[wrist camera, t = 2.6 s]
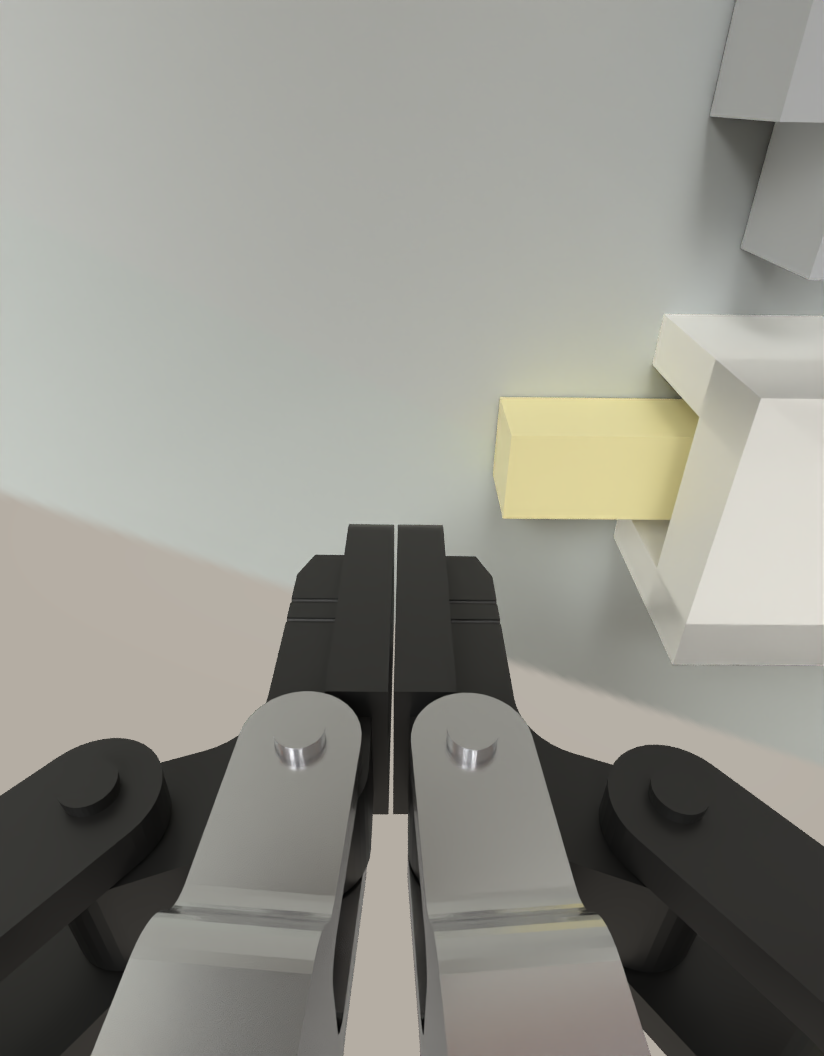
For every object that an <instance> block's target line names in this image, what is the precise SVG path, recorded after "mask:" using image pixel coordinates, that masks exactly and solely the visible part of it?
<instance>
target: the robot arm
mask: <svg viewBox="0 0 824 1056" xmlns="http://www.w3.org/2000/svg"><path fill="white" fill-rule="evenodd" d="M393 631H394V525H372V524H349V527H348V533H347V540H346V547H345V554H344V555H315V556H314V557H313V558H312V559H311V560H310V561H309V562H308V563H307V565H306V566H305V567H304V568H303V569H302V570H301V571H300V572H299V573H298V574H297V578H296V582H295V586H294V591H293V595H292V603H290V607H289V611H288V616H287V622H286V624H285V629H284V632H283V637H282V641H281V645H280V650H279V653H278V658H277V662H276V666H275V670H274V674H273V678H272V683H271V687H270V691H269V695H268V699H267V702H266V703H265V704H264V705H262V706H261V707H260V708H258V709H257V710H256V711H255V712H254V713H253V714H252V715H251V716H250V717H249V718H248V720H247V721H246V722H245V724H244V726H243V727H242V730H241V732H240V734H239V736H237V737H235V738H234V739H232V740H230V741H229V742H227V743H224V744H222V745H220V746H218V747H215V748H213V749H209V750H206V751H203V752H199V753H195V754H192V755H188V756H184V757H180V758H177V759H173V760H170V761H165V762H162V763H160V761H159V759H158V758H157V755H156V754H155V753H154V752H153V751H152V750H151V749H150V748H148V747H147V746H146V745H144V744H142V743H140V742H137V741H134V740H130V739H121V738H110V739H102V740H97V741H93V742H89V743H86V744H84V745H80V746H79V747H76V748H74V749H72V750H70V751H68V752H66V753H64V754H63V755H61V756H59V757H58V758H56V759H55V760H53V761H52V762H50V763H49V764H47V765H46V766H44V767H43V768H41V769H40V770H38V771H37V772H35V773H34V774H32V775H31V776H29V777H28V778H26V779H25V780H23V781H22V782H20V783H19V784H17V785H16V786H14V787H13V788H11V789H10V790H8V791H7V792H5V793H4V794H2V795H1V796H0V1056H343V1055H344V1044H345V1035H346V1027H347V1019H348V1011H349V1004H350V996H351V988H352V981H353V973H354V965H355V958H356V950H357V942H358V935H359V927H360V919H361V912H362V904H363V896H364V888H365V880H366V867H367V864H368V861H369V858H370V851H371V835H372V816H373V814H388V807H389V773H390V772H389V770H390V737H391V736H390V735H391V703H392V701H391V700H392V668H393ZM393 780H394V782H393V787H394V788H393V793H394V794H393V814H408V889H409V903H410V917H411V929H412V942H413V943H412V944H413V957H414V970H415V984H416V998H417V1011H418V1024H419V1039H420V1056H651V1054H650V1051H649V1048H648V1045H647V1042H646V1039H645V1035H644V1033H643V1030H644V1031H645V1032H646V1033H647V1034H648V1035H649V1036H650V1038H651V1039H652V1040H653V1041H654V1042H655V1043H656V1044H657V1045H658V1047H659V1048H660V1049H661V1050H662V1051H663V1052H664V1053H665V1054H666V1055H667V1056H824V846H822V845H821V844H820V843H818V842H817V841H815V840H814V839H813V838H811V837H810V836H809V835H807V834H806V833H805V832H803V831H802V830H800V829H799V828H798V827H796V826H795V825H793V824H792V823H791V822H789V821H788V820H787V819H785V818H784V817H783V816H781V815H780V814H779V813H777V812H776V811H774V810H773V809H772V808H770V807H769V806H768V805H766V804H765V803H763V802H762V801H761V800H759V799H758V798H757V797H755V796H754V795H752V794H751V793H750V792H748V791H747V790H745V789H744V788H743V787H742V786H740V785H739V784H738V783H736V782H735V781H733V780H732V779H731V778H729V777H728V776H726V775H725V774H724V773H722V772H721V771H720V770H718V769H717V768H715V767H714V766H713V765H711V764H710V763H708V762H707V761H705V760H704V759H702V758H700V757H698V756H696V755H694V754H692V753H690V752H687V751H684V750H682V749H679V748H675V747H671V746H664V745H645V746H640V747H636V748H634V749H631V750H629V751H627V752H625V753H624V754H622V755H621V756H620V757H619V758H618V759H617V760H616V761H615V763H614V765H611V764H608V763H604V762H601V761H597V760H594V759H590V758H587V757H584V756H580V755H577V754H573V753H570V752H568V751H565V750H562V749H560V748H558V747H556V746H553V745H552V744H550V743H549V742H547V741H545V740H544V739H542V738H541V737H540V736H538V735H537V734H536V733H535V732H534V731H533V730H532V729H531V728H530V727H529V726H528V725H527V724H526V722H525V721H524V719H523V718H522V717H521V715H520V714H519V712H518V709H517V707H516V704H515V700H514V696H513V690H512V684H511V679H510V673H509V668H508V662H507V657H506V651H505V645H504V640H503V634H502V629H501V624H500V617H499V612H498V606H497V605H496V595H495V590H494V584H493V578H492V576H491V575H490V573H489V572H488V571H487V570H486V569H485V567H484V566H483V565H482V564H481V563H480V561H479V560H478V559H477V558H476V557H469V556H445V544H444V532H443V525H398V546H397V586H396V625H395V666H394V775H393Z"/></svg>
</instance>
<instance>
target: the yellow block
mask: <svg viewBox="0 0 824 1056" xmlns="http://www.w3.org/2000/svg"><path fill="white" fill-rule="evenodd" d="M698 420H699V416H698V415H697V414H696V413H695V412H694V411H693V409H692V408H691V407H690V406H689V405H688V404H687V403H686V402H685V401H684V399H648V398H542V397H500V402H499V413H498V424H497V434H496V445H495V456H494V466H493V477H494V482H495V486H496V491H497V495H498V500H499V504H500V509H501V513H502V517H503V519H634V520H671V516H672V513H673V509H674V506H675V502H676V498H677V495H678V491H679V488H680V484H681V481H682V477H683V474H684V470H685V466H686V463H687V459H688V456H689V452H690V449H691V445H692V441H693V438H694V434H695V431H696V427H697V424H698Z"/></svg>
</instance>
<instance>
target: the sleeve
mask: <svg viewBox="0 0 824 1056" xmlns="http://www.w3.org/2000/svg"><path fill="white" fill-rule="evenodd" d="M652 365H653V366H654V367H655V368H656V369H657V370H658V372H659V373H660V374H661V375H662V376H663V377H664V378H665V379H666V380H667V382H668V383H669V384H670V385H671V386H672V387H673V388H674V389H675V390H676V392H677V393H678V394H679V395H680V396H681V397H682V398H683V399H684V401H685V402H686V403H687V404H688V405H689V406H690V407H691V408H692V409H693V411H694V412H695V413H696V414H697V415H698V416H699V420H698V424H697V427H696V431H695V434H694V438H693V441H692V445H691V449H690V452H689V456H688V459H687V463H686V466H685V470H684V474H683V477H682V481H681V484H680V488H679V491H678V495H677V498H676V502H675V506H674V509H673V513H672V516H671V520H634V519H617V523H616V528H615V532H614V536H613V537H614V539H615V542H616V544H617V546H618V548H619V550H620V552H621V555H622V557H623V559H624V561H625V563H626V565H627V568H628V570H629V572H630V574H631V576H632V578H633V581H634V583H635V585H636V587H637V589H638V591H639V594H640V596H641V598H642V600H643V602H644V604H645V607H646V609H647V611H648V613H649V615H650V617H651V620H652V622H653V624H654V626H655V628H656V630H657V633H658V635H659V637H660V639H661V641H662V643H663V646H664V648H665V650H666V652H667V654H668V656H669V659H670V661H671V663H672V665H778V666H824V316H804V315H713V314H664V315H663V319H662V324H661V328H660V333H659V337H658V342H657V346H656V350H655V355H654V359H653V364H652Z"/></svg>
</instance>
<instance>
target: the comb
mask: <svg viewBox="0 0 824 1056" xmlns="http://www.w3.org/2000/svg"><path fill="white" fill-rule="evenodd" d="M710 116H711V117H724V118H736V119H748V120H761V121H773V122H775V124H774V128H773V132H772V135H771V139H770V142H769V146H768V150H767V153H766V157H765V161H764V164H763V168H762V171H761V175H760V179H759V182H758V186H757V190H756V193H755V197H754V201H753V204H752V208H751V211H750V215H749V219H748V222H747V226H746V230H745V233H744V237H743V240H742V244H741V249H743V250H745V251H748V252H750V253H752V254H754V255H756V256H758V257H760V258H762V259H765V260H767V261H769V262H771V263H773V264H775V265H777V266H779V267H782V268H784V269H786V270H788V271H790V272H792V273H794V274H797V275H799V276H801V277H803V278H805V279H807V280H824V0H736V2H735V6H734V11H733V15H732V20H731V24H730V28H729V33H728V37H727V42H726V46H725V51H724V55H723V59H722V64H721V68H720V73H719V77H718V81H717V86H716V90H715V95H714V99H713V103H712V108H711V112H710Z"/></svg>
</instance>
